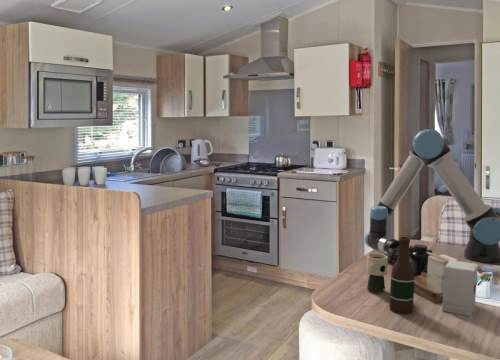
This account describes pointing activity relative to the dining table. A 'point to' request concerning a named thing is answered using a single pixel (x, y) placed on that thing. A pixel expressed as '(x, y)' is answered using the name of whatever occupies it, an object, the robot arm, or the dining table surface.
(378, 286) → the character mug
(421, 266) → the supplement bottle
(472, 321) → the dining table surface
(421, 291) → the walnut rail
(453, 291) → the supplement box
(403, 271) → the beer bottle
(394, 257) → the robot arm
